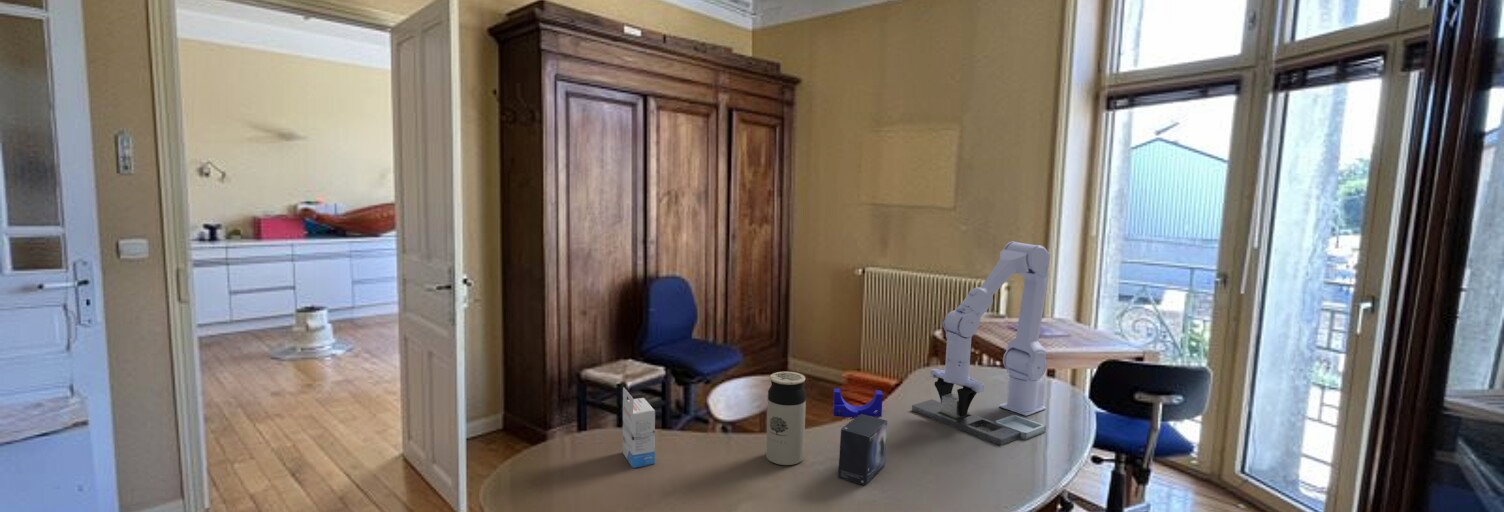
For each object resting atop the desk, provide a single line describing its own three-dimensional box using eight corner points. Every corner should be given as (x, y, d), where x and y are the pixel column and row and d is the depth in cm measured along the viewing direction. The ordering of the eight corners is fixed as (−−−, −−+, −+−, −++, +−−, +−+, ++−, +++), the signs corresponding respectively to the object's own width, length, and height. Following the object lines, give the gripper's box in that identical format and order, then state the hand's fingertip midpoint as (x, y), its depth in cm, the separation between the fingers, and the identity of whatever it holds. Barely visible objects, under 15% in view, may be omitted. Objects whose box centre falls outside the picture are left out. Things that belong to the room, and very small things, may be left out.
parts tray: (1013, 420, 166) (1013, 414, 166) (1045, 431, 160) (1045, 425, 159) (993, 427, 161) (993, 421, 161) (1025, 439, 155) (1026, 433, 154)
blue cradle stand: (833, 417, 166) (834, 394, 166) (833, 410, 171) (834, 388, 170) (882, 419, 166) (883, 396, 165) (880, 413, 170) (881, 390, 169)
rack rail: (931, 404, 176) (932, 399, 176) (1021, 437, 156) (1021, 432, 155) (911, 410, 172) (912, 405, 172) (1001, 445, 151) (1001, 439, 151)
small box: (867, 487, 130) (869, 436, 128) (836, 478, 133) (838, 428, 132) (886, 467, 139) (889, 419, 137) (857, 459, 142) (859, 412, 141)
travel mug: (783, 447, 147) (786, 368, 145) (811, 458, 142) (814, 377, 139) (758, 457, 142) (760, 376, 139) (786, 470, 136) (788, 385, 134)
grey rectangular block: (951, 415, 169) (953, 391, 168) (966, 420, 166) (968, 396, 165) (940, 418, 167) (942, 394, 166) (955, 424, 163) (957, 400, 162)
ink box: (656, 464, 137) (656, 396, 135) (632, 468, 135) (632, 399, 133) (644, 448, 145) (644, 383, 143) (621, 452, 143) (621, 386, 141)
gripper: (923, 354, 167) (920, 406, 169) (972, 369, 156) (969, 424, 158) (941, 350, 172) (938, 401, 173) (990, 364, 160) (986, 418, 162)
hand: (954, 412), depth 166 cm, fingers closed on grey rectangular block, 4 cm apart
